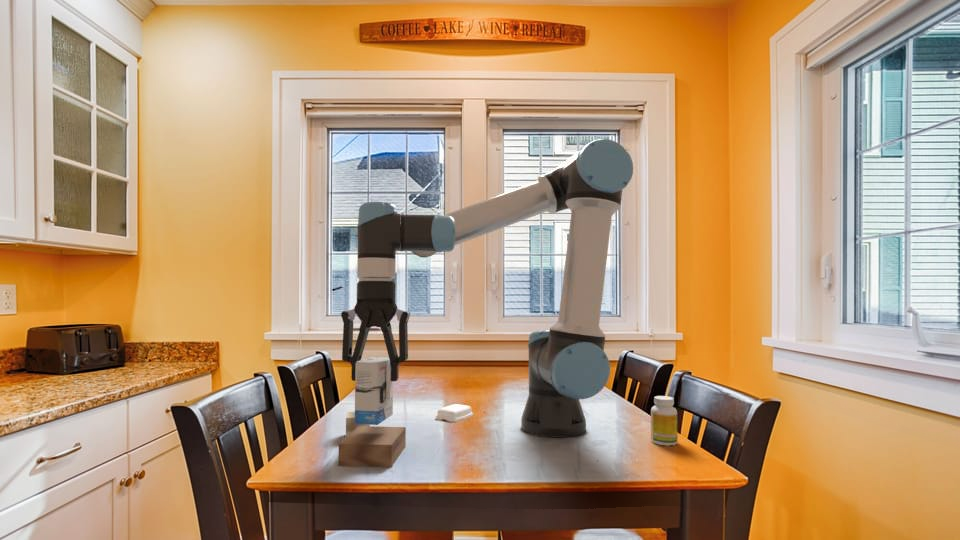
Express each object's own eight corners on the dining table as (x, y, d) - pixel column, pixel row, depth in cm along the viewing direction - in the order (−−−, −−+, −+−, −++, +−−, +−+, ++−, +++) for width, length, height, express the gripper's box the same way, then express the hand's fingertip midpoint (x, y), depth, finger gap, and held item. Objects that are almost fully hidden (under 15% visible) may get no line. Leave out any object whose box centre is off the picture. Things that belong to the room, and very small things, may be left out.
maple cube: (369, 433, 112) (369, 411, 112) (369, 440, 107) (369, 416, 107) (346, 434, 111) (347, 412, 111) (345, 441, 106) (346, 418, 106)
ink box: (377, 425, 92) (378, 362, 93) (353, 424, 93) (354, 362, 94) (394, 414, 100) (394, 357, 101) (371, 413, 101) (372, 356, 102)
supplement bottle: (647, 438, 108) (646, 395, 109) (671, 438, 108) (670, 394, 109) (657, 446, 103) (656, 400, 103) (682, 446, 103) (681, 400, 103)
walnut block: (405, 446, 102) (405, 427, 102) (391, 466, 90) (391, 444, 90) (358, 445, 103) (358, 426, 103) (338, 465, 91) (338, 443, 91)
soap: (455, 424, 121) (455, 412, 121) (433, 420, 125) (433, 408, 125) (475, 416, 129) (475, 405, 129) (454, 412, 132) (454, 401, 133)
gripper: (425, 280, 101) (423, 394, 100) (338, 280, 102) (336, 392, 101) (418, 279, 94) (416, 402, 93) (324, 279, 95) (322, 400, 94)
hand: (374, 397), depth 97 cm, fingers closed on ink box, 5 cm apart
